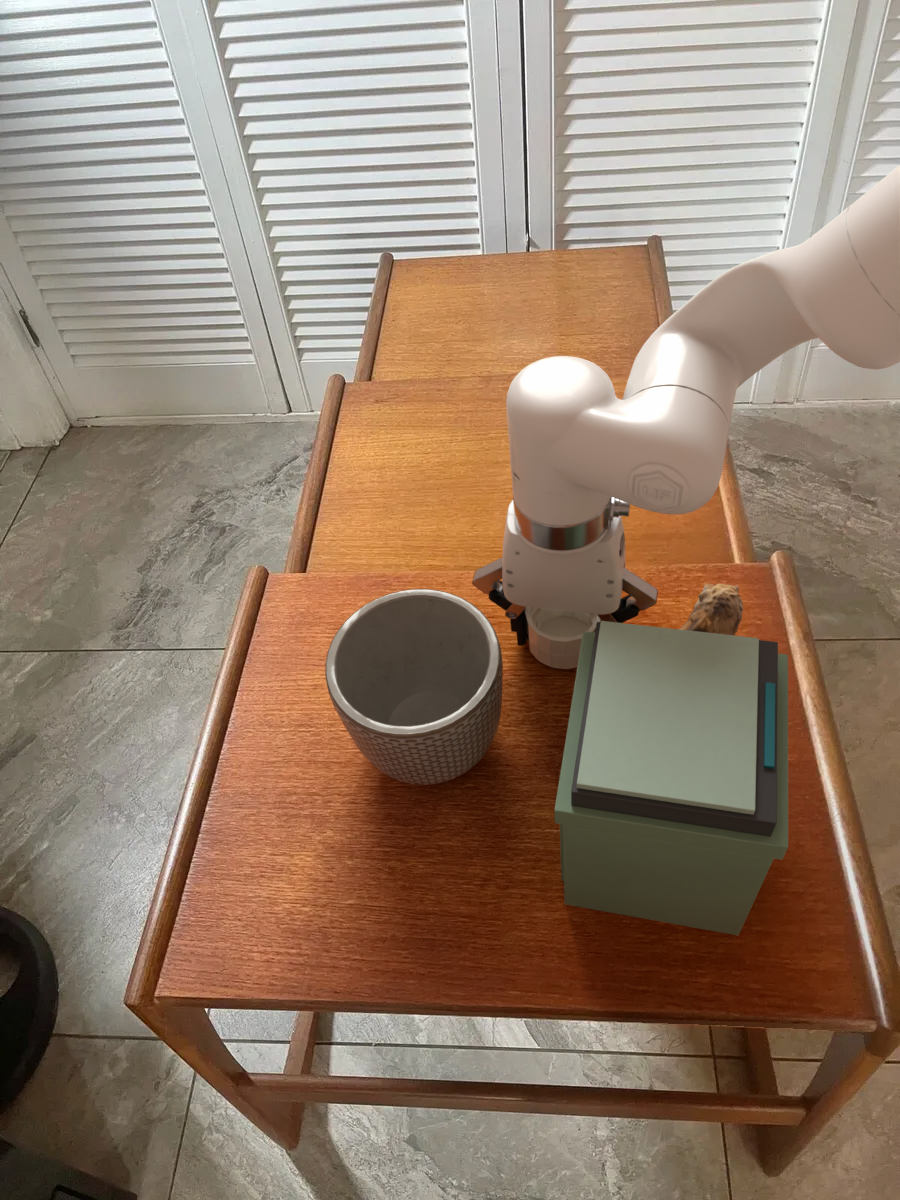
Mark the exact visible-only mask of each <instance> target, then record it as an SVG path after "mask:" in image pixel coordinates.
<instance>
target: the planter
mask: <svg viewBox="0 0 900 1200" xmlns="http://www.w3.org/2000/svg"><path fill="white" fill-rule="evenodd" d="M342 623H343V624H342V625H340V627H339V629H338V630H337V631H336V633H335V635H334V637H333V638H332V640H331V642H330V645H329V647H328V650H327V654H326V659H325V665H324V667H325V669H324V670H325V671H324V675H325V676H324V677H325V682H326V687H327V692H328V695H329V698H330V700H331V703H332V705H333V707H334V709H335V712H336V713H337V715H338V716H339V718H340V720H341V722H342V724H343V726H344V728H345V730H346V732H347V733H348V735H349V736H350V738H351V739H352V741H353V742H354V744H355V746H356V747H357V749H358V750H359V751H360V753H361V754H362V755H363V756H364V757H365V758H366V760H368V762H369V763H370V764H371V765H372V766H373V767H374V768H376V769H377V770H378V771H379V772H381V773H383V775H386V776H388V777H389V778H392V779H394V780H396V781H399V782H402V783H406V784H412V785H419V786H421V785H424V786H425V785H436V784H442V783H445V782H449V781H451V780H454V779H456V778H458V777H460V776H462V775H464V774H465V773H467V772H468V771H470V770H471V769H472V768H473V767H475V766H476V765H477V764H478V763H480V761H481V760H482V759H483V757H484V756H486V754H487V753H488V751H489V749H490V748H491V747H492V744H493V742H494V740H495V737H496V735H497V733H498V729H499V725H500V721H501V720H500V719H501V716H502V708H503V707H502V705H503V692H504V691H503V689H504V688H503V687H504V686H503V684H504V683H503V682H504V681H503V679H504V676H503V675H504V674H503V672H504V670H503V669H504V668H503V667H504V664H503V655H502V648H501V643H500V641H499V638H498V634H497V633H496V630H495V628H494V627H493V625H492V623H491V621H490V620H489V618H488V617H487V616H486V615H485V614H484V613H483V611H482V610H481V609H479V608H478V607H477V606H476V605H475V604H473V603H472V602H471V601H468V600H467V599H465V598H464V597H462V596H459V595H457V594H454V593H452V592H448V591H443V590H439V589H433V588H411V589H402V590H398V591H395V592H391V593H386V594H384V595H382V596H380V597H379V596H378V597H377V598H375V599H373V600H371V601H369V602H368V603H366V604H364V605H363V606H361V607H360V608H358V609H357V610H356V611H354V612H353V613H352V614H351V615H350V616H348V618H347V619H346V620H345V621H344V622H342Z"/></svg>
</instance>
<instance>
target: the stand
mask: <svg viewBox="0 0 900 1200" xmlns="http://www.w3.org/2000/svg"><path fill="white" fill-rule="evenodd" d="M594 637H595V633H594V632H585V631H584V632H583V635H582V641H581V647H580V654H579V660H578V666H577V667H576V673H575V679H574V685H573V691H572V698H571V703H570V710H569V717H568V722H567V728H566V735H565V741H564V746H563V747H564V748H563V753H562V761H561V766H560V772H559V779H558V785H557V792H556V797H555V803H554V809H553V810H554V812H553V813H554V814H553V815H554V824H556V825H559V844H560V845H559V846H560V847H559V848H560V849H559V850H560V880H561V881H562V882H563V892H564V893H563V899H564V900H563V903H564V905H567V906H572V907H577V908H583V909H588V910H592V911H593V910H594V911H599V912H605V913H611V914H616V915H622V916H628V917H632V918H639V919H644V920H649V921H655V922H661V923H666V924H671V925H677V926H683V927H688V928H693V929H698V930H705V931H711V932H716V933H722V934H727V935H732V936H740V934H741V931H742V929H743V927H744V925H745V922H746V920H747V918H748V916H749V913H750V912H751V909H752V907H753V905H754V903H755V901H756V898H757V896H758V894H759V892H760V890H761V888H762V885H763V884H764V881H765V878H766V877H767V875H768V872H769V870H770V867H772V864H773V861H774V860H779V861H783V859H784V857H785V855H786V853H787V851H788V849H789V655H788V654H786V653H785V654H784V653H778V715H777V824H776V826H775V828H774V831H773V833H772V835H771V837H769V836H762V835H756V834H749V833H743V832H737V831H730V830H724V829H717V828H711V827H705V826H698V825H692V824H685V823H679V822H673V821H666V820H660V819H653V818H647V817H641V816H634V815H628V814H621V813H615V812H609V811H602V810H596V809H589V808H583V807H576V806H572V805H571V789H572V783H573V776H574V769H575V763H576V756H577V750H578V743H579V736H580V730H581V723H582V717H583V710H584V703H585V697H586V690H587V683H588V677H589V670H590V664H591V657H592V650H593V644H594Z"/></svg>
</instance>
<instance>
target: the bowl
mask: <svg viewBox="0 0 900 1200" xmlns="http://www.w3.org/2000/svg"><path fill="white" fill-rule="evenodd" d="M525 619H526V633H527V641H526V643H527V645H528V649H529V652H530V653H531V654H532V655H533V657H534V658H535V659H536V660H537V661H538V662H540V663H541V664H544V665H545V666H548V667H550V668H552V669H559V670H560V669H561V670H570V669H575V668H576V669H577V666H578V660H579V654H580V647H581V641H582V635H583V632H584V631H585V632H594V633H595V630H596V624H597V622H601V620H600V618H599V617H598V616H597V614H587V613H576V612H567V611H558V610H549V609H540V608H532V607H526V609H525Z"/></svg>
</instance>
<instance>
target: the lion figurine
mask: <svg viewBox="0 0 900 1200" xmlns="http://www.w3.org/2000/svg"><path fill="white" fill-rule="evenodd" d="M739 591H740V588H739V585H732V584H725V583H716V584H715V585H714V583H705V585H703V589H702V592H700V593H699V594H698V599H697V601H696V602H695V604H694V606H693V610H692V612H691V613H690V614H689V617H688V618H687V621H686V622H685V623H684V624H683V625H682V626H681V627H680V628H679V629H680V630H689V631H698V632H707V633H716V634H725V635H734V636H736V633H737V632H738V630H739V625H740V624H741V621H742V619H743V612H744V602H743V599H742V597H741V596H740V593H739Z"/></svg>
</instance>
